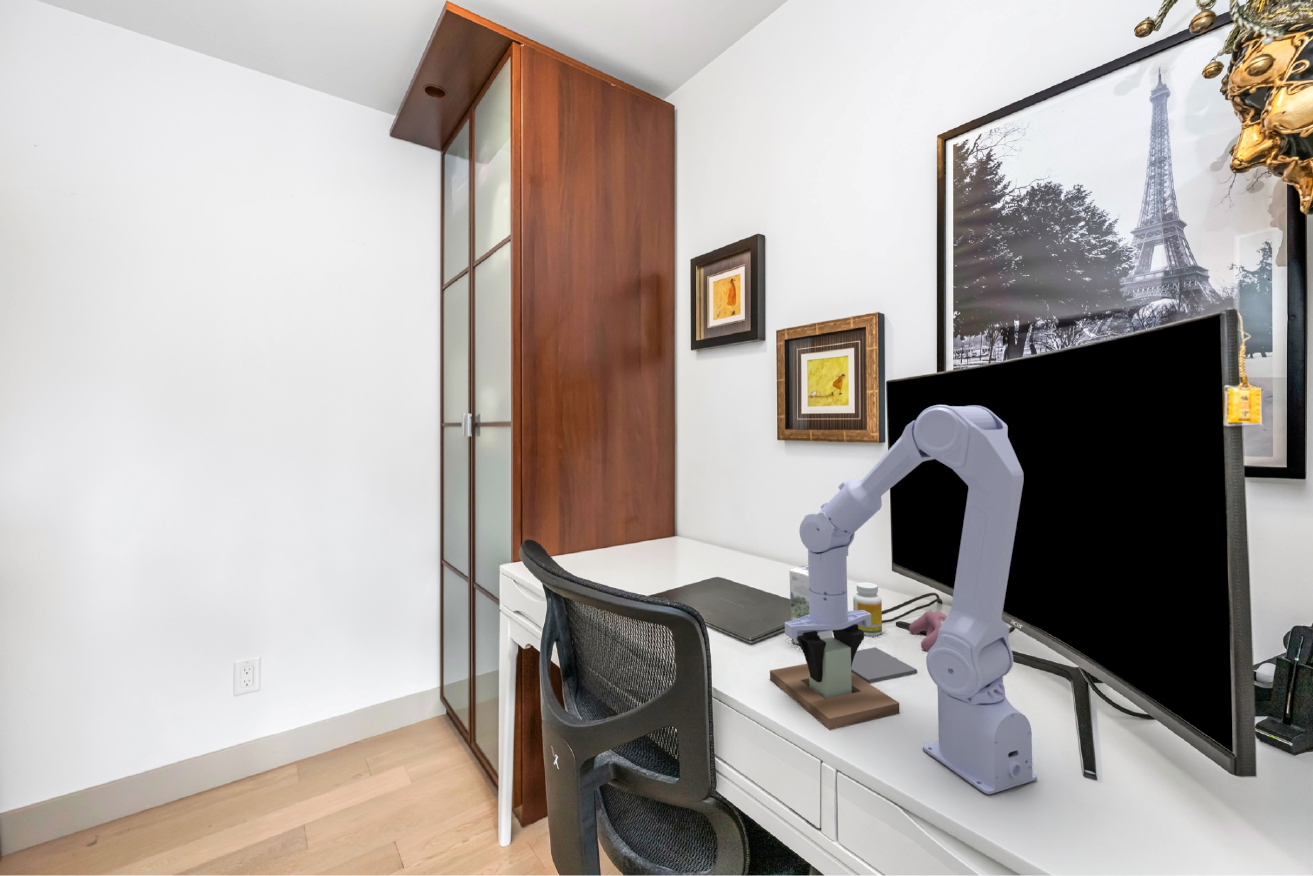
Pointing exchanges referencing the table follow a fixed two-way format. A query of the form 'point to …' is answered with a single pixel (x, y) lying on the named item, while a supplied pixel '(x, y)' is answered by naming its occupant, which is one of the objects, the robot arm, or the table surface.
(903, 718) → the table surface
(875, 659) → the charcoal mat
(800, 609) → the syrup box
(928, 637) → the video game controller
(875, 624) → the supplement bottle
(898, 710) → the board
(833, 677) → the sage block
